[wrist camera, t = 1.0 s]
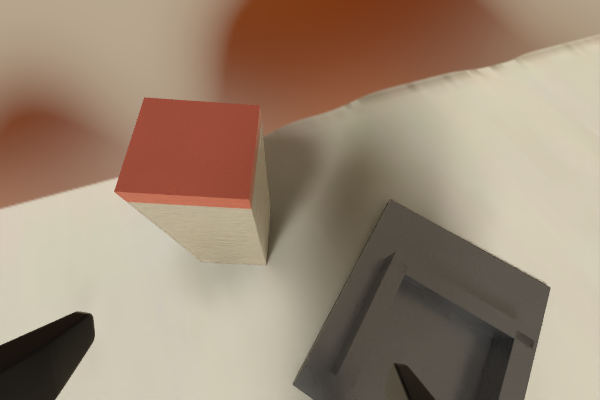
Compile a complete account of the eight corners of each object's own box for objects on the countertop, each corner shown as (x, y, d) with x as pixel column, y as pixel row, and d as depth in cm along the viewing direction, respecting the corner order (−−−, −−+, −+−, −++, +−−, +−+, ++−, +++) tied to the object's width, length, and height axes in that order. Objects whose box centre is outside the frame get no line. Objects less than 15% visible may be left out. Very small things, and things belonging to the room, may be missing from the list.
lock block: (266, 265, 23) (248, 199, 11) (201, 261, 23) (114, 191, 11) (270, 208, 25) (260, 101, 13) (211, 205, 25) (145, 93, 13)
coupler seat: (489, 522, 18) (522, 552, 15) (292, 383, 20) (294, 391, 18) (546, 288, 24) (576, 283, 21) (388, 201, 26) (399, 188, 23)
